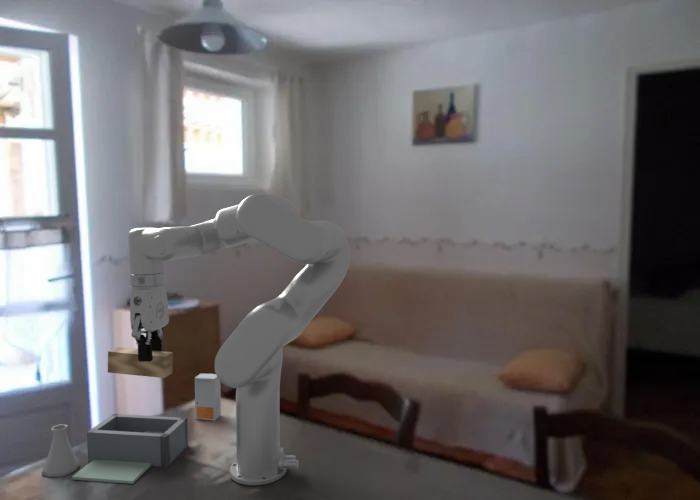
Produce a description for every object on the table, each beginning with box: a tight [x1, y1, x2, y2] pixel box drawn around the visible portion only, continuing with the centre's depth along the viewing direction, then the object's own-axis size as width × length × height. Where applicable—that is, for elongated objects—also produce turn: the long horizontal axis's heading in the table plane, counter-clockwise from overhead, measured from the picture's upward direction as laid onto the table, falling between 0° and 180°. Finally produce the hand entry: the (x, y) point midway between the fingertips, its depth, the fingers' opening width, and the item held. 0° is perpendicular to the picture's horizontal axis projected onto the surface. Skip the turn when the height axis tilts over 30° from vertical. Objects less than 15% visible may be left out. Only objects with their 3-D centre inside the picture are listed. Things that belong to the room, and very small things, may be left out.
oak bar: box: [107, 346, 174, 379], centre depth 125 cm, size 14×4×5 cm, turn 83°
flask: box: [41, 423, 81, 478], centre depth 118 cm, size 7×7×10 cm
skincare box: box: [194, 373, 222, 422], centre depth 148 cm, size 6×4×12 cm
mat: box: [71, 459, 152, 485], centre depth 118 cm, size 14×8×1 cm, turn 83°
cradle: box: [86, 413, 189, 468], centre depth 127 cm, size 19×11×7 cm, turn 83°
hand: (150, 357), depth 125 cm, fingers closed on oak bar, 4 cm apart
